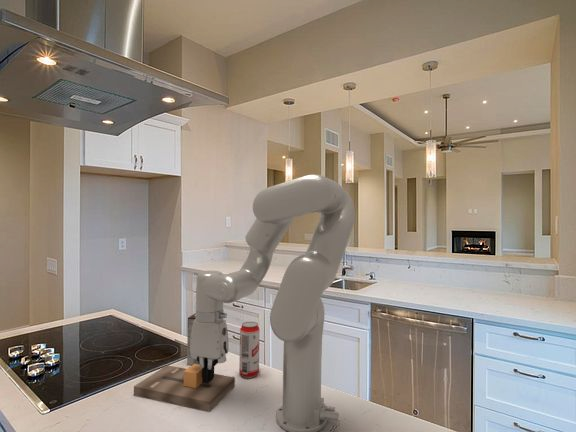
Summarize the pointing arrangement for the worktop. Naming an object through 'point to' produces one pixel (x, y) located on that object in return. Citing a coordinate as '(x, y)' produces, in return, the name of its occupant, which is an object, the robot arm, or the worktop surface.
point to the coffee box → (189, 359)
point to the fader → (193, 376)
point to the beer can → (249, 349)
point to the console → (184, 389)
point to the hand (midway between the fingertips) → (207, 380)
